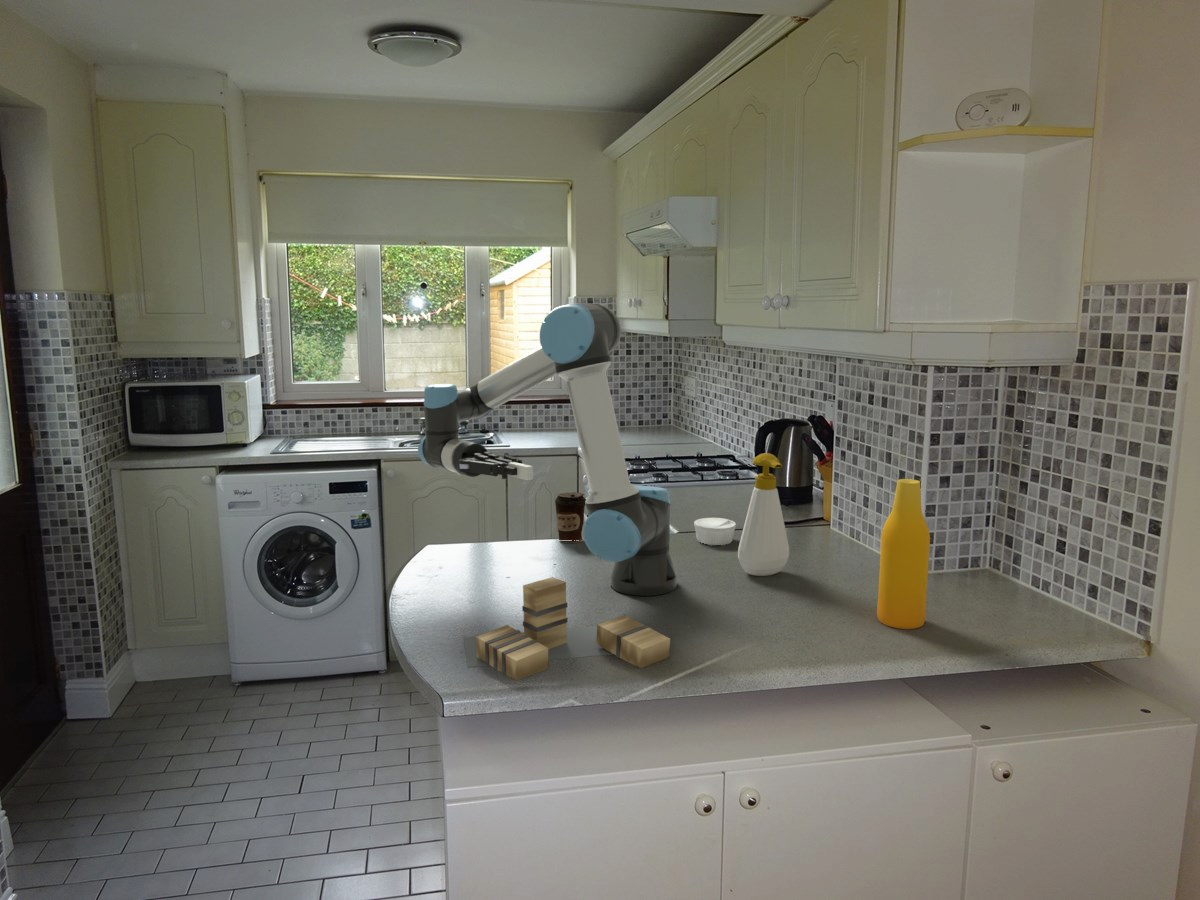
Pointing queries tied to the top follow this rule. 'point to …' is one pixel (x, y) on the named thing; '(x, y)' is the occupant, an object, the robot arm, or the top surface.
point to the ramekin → (714, 531)
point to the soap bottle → (764, 525)
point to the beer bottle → (904, 560)
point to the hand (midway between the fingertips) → (530, 473)
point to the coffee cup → (570, 516)
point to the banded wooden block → (632, 641)
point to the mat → (577, 645)
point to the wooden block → (545, 612)
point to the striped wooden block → (511, 652)
